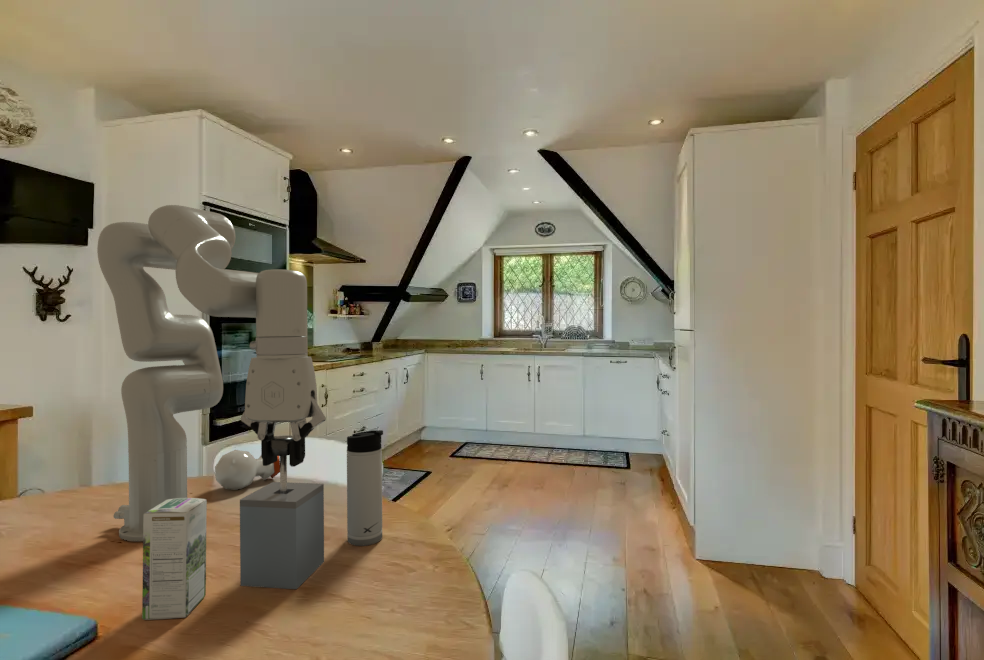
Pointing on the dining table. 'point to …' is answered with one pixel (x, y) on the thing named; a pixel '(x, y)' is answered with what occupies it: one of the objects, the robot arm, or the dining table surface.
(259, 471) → the potion bottle
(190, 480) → the dining table surface
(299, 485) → the grey box with hole
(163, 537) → the syrup box
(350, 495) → the travel mug
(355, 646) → the dining table surface
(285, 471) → the plunger
